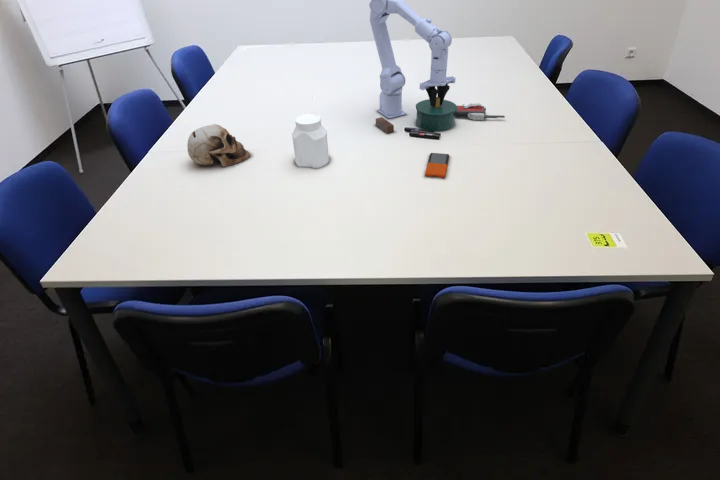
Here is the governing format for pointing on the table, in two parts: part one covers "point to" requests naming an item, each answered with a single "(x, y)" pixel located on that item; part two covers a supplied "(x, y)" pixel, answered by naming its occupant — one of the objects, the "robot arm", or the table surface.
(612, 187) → the table surface
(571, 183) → the table surface
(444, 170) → the phone
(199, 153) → the coin bank
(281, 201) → the table surface
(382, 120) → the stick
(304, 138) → the jar
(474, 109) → the walkie-talkie
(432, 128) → the tin
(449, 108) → the tin lid
